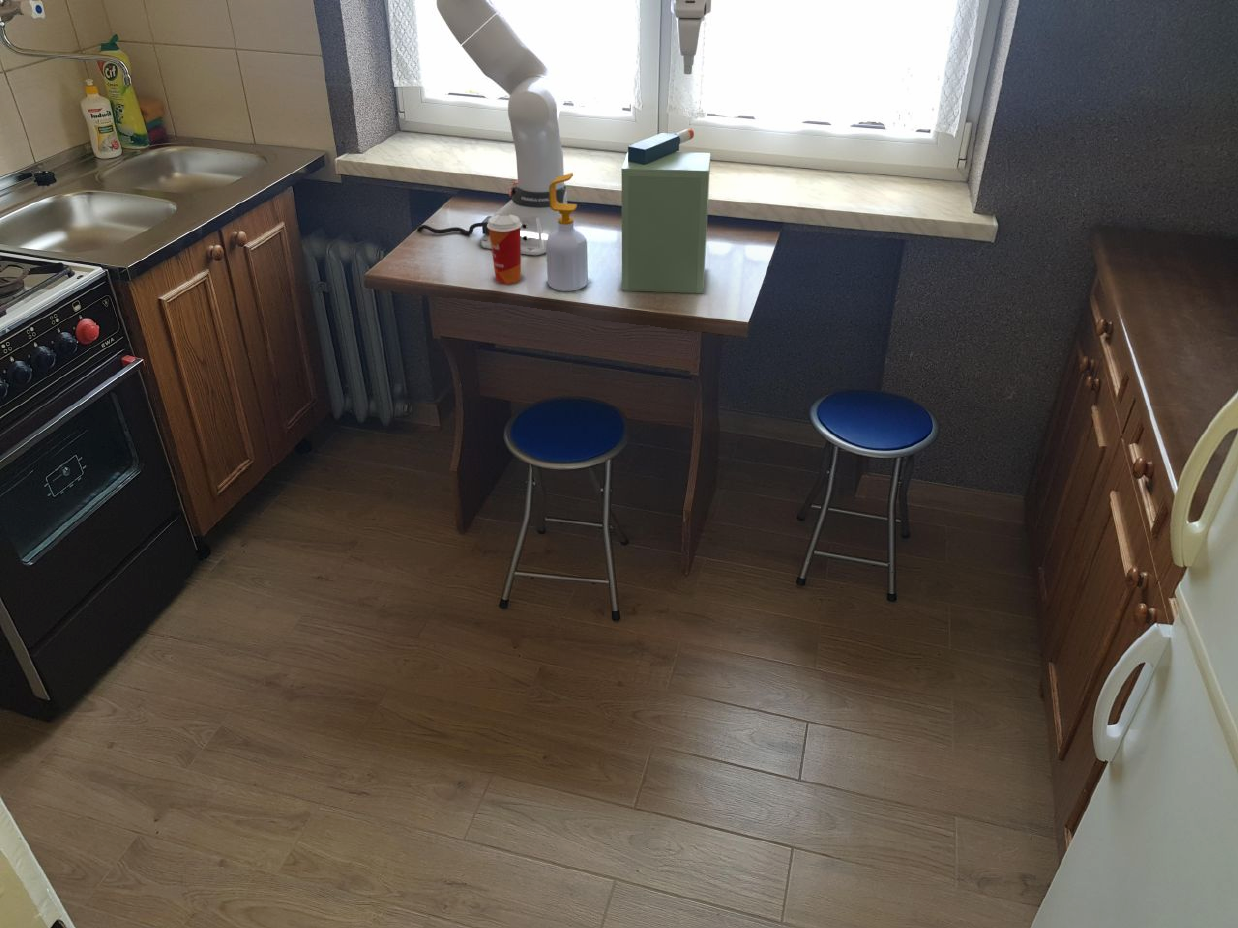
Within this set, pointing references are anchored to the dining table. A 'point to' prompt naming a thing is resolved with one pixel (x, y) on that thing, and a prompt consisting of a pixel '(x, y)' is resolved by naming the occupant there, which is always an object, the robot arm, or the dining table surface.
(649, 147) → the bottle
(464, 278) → the dining table surface
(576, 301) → the dining table surface
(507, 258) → the paper cup
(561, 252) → the soap bottle
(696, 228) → the stand
